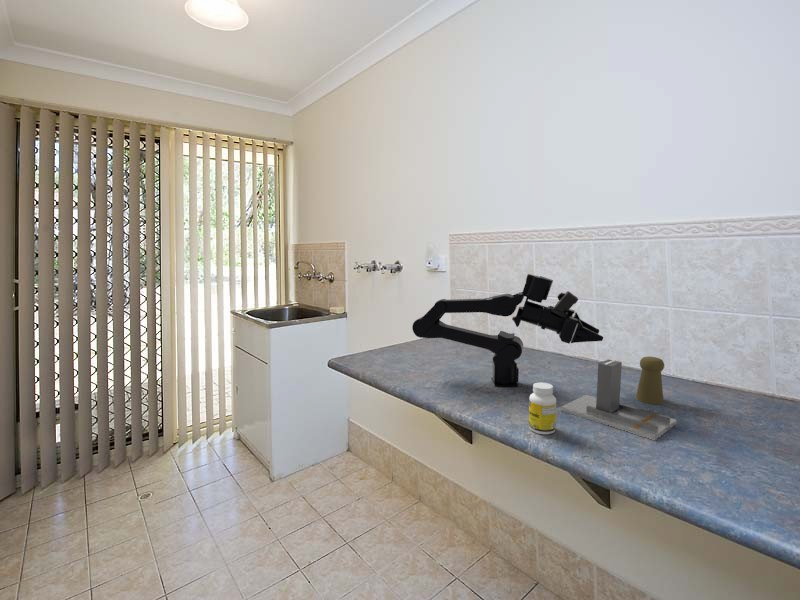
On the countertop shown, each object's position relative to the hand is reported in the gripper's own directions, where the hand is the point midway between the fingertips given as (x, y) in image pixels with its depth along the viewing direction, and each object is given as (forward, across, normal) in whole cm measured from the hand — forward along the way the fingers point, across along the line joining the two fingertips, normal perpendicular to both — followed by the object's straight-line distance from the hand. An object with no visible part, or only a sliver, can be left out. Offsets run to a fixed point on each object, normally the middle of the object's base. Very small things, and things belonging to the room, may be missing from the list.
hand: (600, 335), depth 105 cm
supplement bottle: (-8, -28, +19) cm, 35 cm away
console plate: (+7, -16, +14) cm, 22 cm away
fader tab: (+5, -15, +14) cm, 21 cm away
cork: (+16, -1, +12) cm, 20 cm away
